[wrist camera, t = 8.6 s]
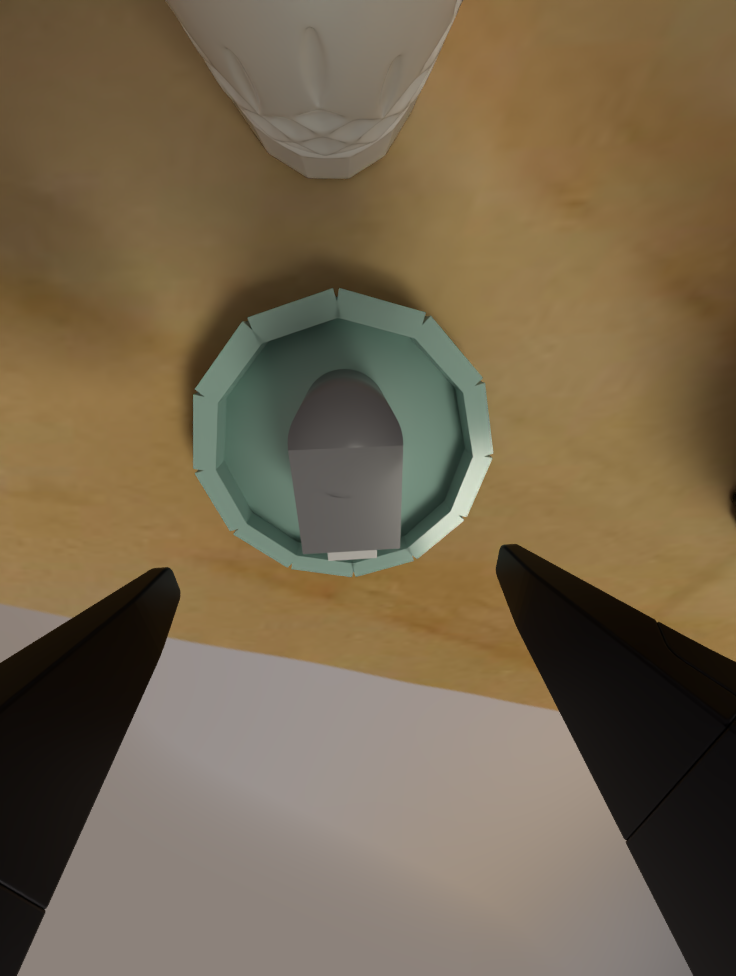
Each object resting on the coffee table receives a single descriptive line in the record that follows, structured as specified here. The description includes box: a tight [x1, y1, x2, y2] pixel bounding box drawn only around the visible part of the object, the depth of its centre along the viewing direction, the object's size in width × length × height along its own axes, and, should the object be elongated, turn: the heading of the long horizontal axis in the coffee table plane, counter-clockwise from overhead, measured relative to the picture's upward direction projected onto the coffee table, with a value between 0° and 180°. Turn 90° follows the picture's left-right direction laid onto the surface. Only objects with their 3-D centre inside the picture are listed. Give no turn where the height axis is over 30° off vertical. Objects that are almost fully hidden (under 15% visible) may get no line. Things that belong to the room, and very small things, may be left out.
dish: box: [193, 288, 493, 577], centre depth 16 cm, size 14×14×2 cm
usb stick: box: [288, 369, 403, 561], centre depth 14 cm, size 8×4×5 cm, turn 1°
